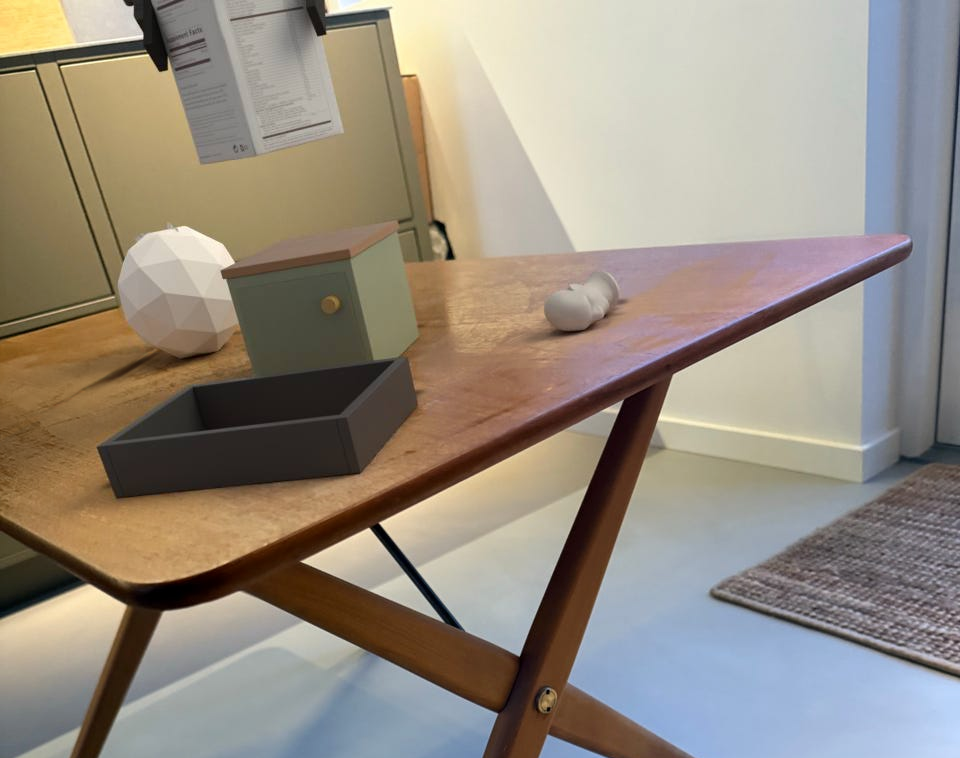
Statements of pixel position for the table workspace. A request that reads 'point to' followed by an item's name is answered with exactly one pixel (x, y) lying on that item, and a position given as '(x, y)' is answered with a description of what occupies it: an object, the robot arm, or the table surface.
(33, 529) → the table surface
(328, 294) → the cabinet
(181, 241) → the geodesic sphere
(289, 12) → the supplement box
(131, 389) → the table surface
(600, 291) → the smooth white sculpture
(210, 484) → the tray
